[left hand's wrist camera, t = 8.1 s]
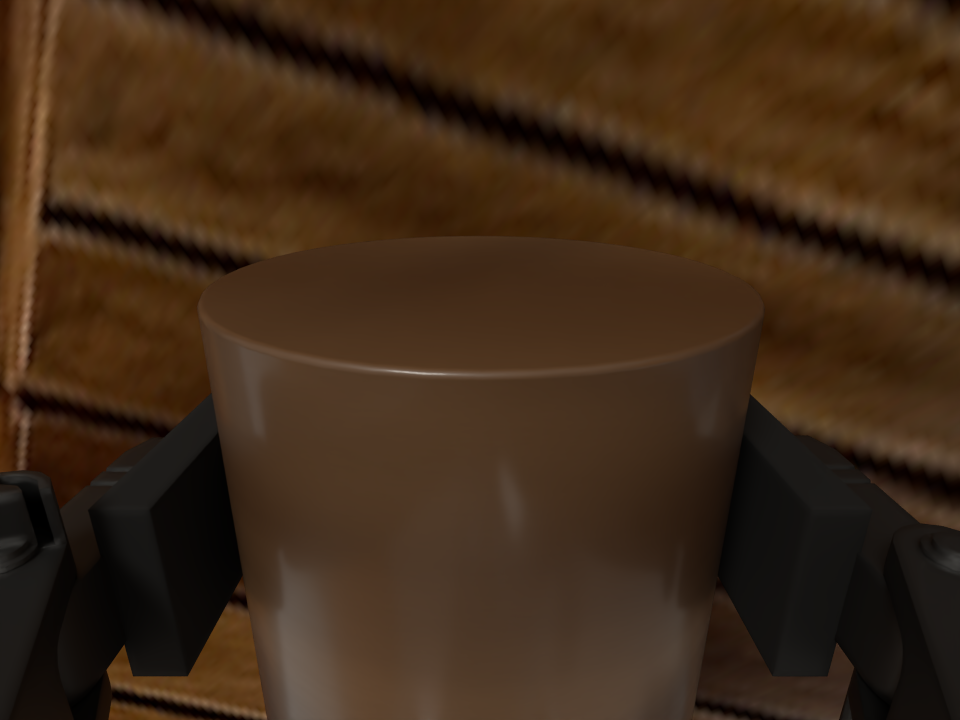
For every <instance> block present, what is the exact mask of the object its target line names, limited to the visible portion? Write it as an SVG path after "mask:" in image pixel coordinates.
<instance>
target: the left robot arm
mask: <svg viewBox="0 0 960 720" xmlns="http://www.w3.org/2000/svg"><path fill="white" fill-rule="evenodd" d="M242 575H243V574H242V568H241V562H240V556H239V550H238V544H237V538H236V533H235V527H234V521H233V515H232V509H231V503H230V497H229V491H228V486H227V480H226V474H225V468H224V462H223V456H222V450H221V445H220V439H219V433H218V427H217V421H216V415H215V409H214V404H213V398H212V393H211V394H210V395H209V396H208V397H207V398H206V399H205V400H204V401H202V402H201V403H200V404H199V405H198V406H197V407H196V408H195V409H194V410H193V411H192V412H191V413H190V414H189V415H188V416H187V417H186V418H184V419H183V420H182V421H181V422H180V423H179V424H178V425H177V426H176V427H175V428H174V429H173V430H172V431H171V432H170V433H169V434H168V435H166V436H165V437H164V438H151V439H149V440H147V441H145V442H143V443H141V444H139V445H138V446H136V447H134V448H132V449H130V450H128V451H126V452H125V453H123V454H122V455H121V456H120V457H119V458H118V459H117V460H115V461H114V462H113V463H112V464H111V465H110V466H109V467H107V470H106V472H102V473H101V474H100V475H98V476H97V477H96V478H95V479H94V480H93V481H92V482H91V485H90V486H86V487H85V488H84V489H82V490H81V491H80V492H79V493H78V494H77V495H76V496H75V497H73V498H72V499H71V500H70V501H69V502H68V503H67V504H65V505H64V506H63V507H62V508H61V509H60V510H59V506H58V503H57V499H56V496H55V492H54V489H53V486H52V482H51V479H50V477H48V476H46V475H45V474H43V473H41V472H35V471H25V470H21V471H12V472H2V473H0V720H108V718H109V712H110V706H111V699H112V692H111V685H110V681H109V677H108V674H107V671H106V670H107V668H108V667H109V665H110V664H111V663H112V661H113V660H114V658H115V657H116V655H117V654H118V653H119V651H120V650H121V648H122V647H123V646H124V645H125V648H126V652H127V656H128V659H129V663H130V667H131V670H132V674H133V676H188V675H189V673H190V671H191V669H192V667H193V665H194V664H195V662H196V660H197V658H198V656H199V654H200V653H201V651H202V649H203V647H204V645H205V643H206V642H207V640H208V638H209V636H210V634H211V632H212V631H213V629H214V627H215V625H216V623H217V621H218V620H219V618H220V616H221V614H222V612H223V610H224V609H225V607H226V605H227V603H228V601H229V599H230V598H231V596H232V594H233V592H234V590H235V588H236V587H237V585H238V583H239V581H240V579H241V577H242ZM718 577H719V578H720V580H721V582H722V584H723V586H724V588H725V589H726V591H727V593H728V595H729V597H730V599H731V600H732V602H733V604H734V606H735V608H736V610H737V612H738V613H739V615H740V617H741V619H742V621H743V623H744V624H745V626H746V628H747V630H748V632H749V634H750V635H751V637H752V639H753V641H754V643H755V645H756V646H757V648H758V650H759V652H760V654H761V656H762V657H763V659H764V661H765V663H766V665H767V667H768V668H769V670H770V672H771V674H772V676H828V672H829V668H830V665H831V661H832V657H833V654H834V650H835V646H836V643H838V645H839V646H840V647H841V649H842V650H843V652H844V653H845V654H846V656H847V657H848V659H849V660H850V661H851V663H852V664H853V666H854V671H853V674H852V677H851V681H850V684H849V688H848V691H847V695H846V698H845V701H844V705H843V708H842V712H841V715H840V719H839V720H960V531H958V530H954V529H951V528H947V527H944V526H937V525H929V524H921V523H919V522H918V521H917V520H916V519H914V518H913V517H912V516H911V515H910V514H909V513H908V512H906V511H905V510H904V509H903V508H902V507H901V506H900V505H898V504H897V503H896V502H895V501H894V500H893V499H892V498H890V497H889V496H888V495H887V494H886V493H885V492H884V491H882V490H881V489H880V488H879V487H878V486H877V485H875V484H871V483H870V479H869V478H867V477H866V476H865V475H864V474H863V473H862V472H861V471H859V470H858V469H855V468H854V465H853V464H851V463H850V462H849V461H848V460H847V459H846V458H845V457H843V456H842V455H841V454H840V453H839V452H838V451H837V450H835V449H833V448H831V447H829V446H827V445H825V444H823V443H821V442H820V441H818V440H816V439H814V438H812V437H810V436H794V435H793V434H792V433H791V432H790V431H789V430H788V429H787V428H785V427H784V426H783V425H782V424H781V423H780V422H779V421H778V420H777V419H776V418H775V417H774V416H773V415H772V414H771V413H770V412H769V411H767V410H766V409H765V408H764V407H763V406H762V405H761V404H760V403H759V402H758V401H757V400H756V399H755V398H754V397H753V396H752V395H750V397H749V403H748V408H747V414H746V420H745V425H744V431H743V436H742V442H741V448H740V453H739V459H738V464H737V470H736V476H735V481H734V487H733V492H732V498H731V504H730V509H729V515H728V520H727V526H726V532H725V537H724V543H723V548H722V554H721V560H720V565H719V571H718Z"/></svg>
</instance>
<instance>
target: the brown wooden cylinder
mask: <svg viewBox="0 0 960 720" xmlns="http://www.w3.org/2000/svg"><path fill="white" fill-rule="evenodd" d="M197 310H198V316H199V321H200V327H201V333H202V339H203V345H204V351H205V357H206V363H207V368H208V374H209V380H210V386H211V392H212V398H213V404H214V409H215V415H216V421H217V427H218V433H219V439H220V445H221V450H222V456H223V462H224V468H225V474H226V480H227V486H228V491H229V497H230V503H231V509H232V515H233V521H234V527H235V533H236V538H237V544H238V550H239V556H240V562H241V568H242V574H243V579H244V585H245V591H246V597H247V603H248V609H249V615H250V620H251V626H252V632H253V638H254V644H255V650H256V656H257V662H258V667H259V673H260V679H261V685H262V691H263V697H264V703H265V708H266V714H267V720H692V716H693V711H694V705H695V700H696V694H697V688H698V683H699V677H700V672H701V666H702V660H703V655H704V649H705V644H706V638H707V632H708V627H709V621H710V616H711V610H712V604H713V599H714V593H715V588H716V582H717V576H718V571H719V565H720V560H721V554H722V548H723V543H724V537H725V532H726V526H727V520H728V515H729V509H730V504H731V498H732V492H733V487H734V481H735V476H736V470H737V464H738V459H739V453H740V448H741V442H742V436H743V431H744V425H745V420H746V414H747V408H748V403H749V397H750V392H751V386H752V380H753V375H754V369H755V364H756V358H757V352H758V347H759V341H760V336H761V330H762V324H763V319H764V312H765V307H764V304H763V301H762V299H761V297H760V294H759V293H758V292H757V291H756V290H755V289H754V288H753V287H752V286H750V285H749V284H747V283H746V282H744V281H743V280H741V279H739V278H738V277H735V276H733V275H731V274H729V273H727V272H725V271H723V270H720V269H718V268H715V267H712V266H709V265H706V264H704V263H700V262H697V261H693V260H690V259H686V258H683V257H678V256H674V255H670V254H666V253H661V252H656V251H650V250H645V249H639V248H633V247H627V246H620V245H612V244H605V243H597V242H587V241H577V240H564V239H551V238H533V237H507V236H449V237H422V238H404V239H390V240H378V241H368V242H359V243H351V244H342V245H335V246H329V247H322V248H316V249H311V250H306V251H300V252H295V253H291V254H287V255H282V256H278V257H274V258H271V259H267V260H264V261H260V262H257V263H254V264H251V265H249V266H246V267H243V268H240V269H238V270H236V271H234V272H232V273H229V274H227V275H225V276H223V277H221V278H220V279H218V280H217V281H215V282H214V283H212V284H211V285H210V286H209V287H208V288H207V289H206V290H205V291H204V292H203V293H202V295H201V298H200V300H199V303H198V306H197Z"/></svg>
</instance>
